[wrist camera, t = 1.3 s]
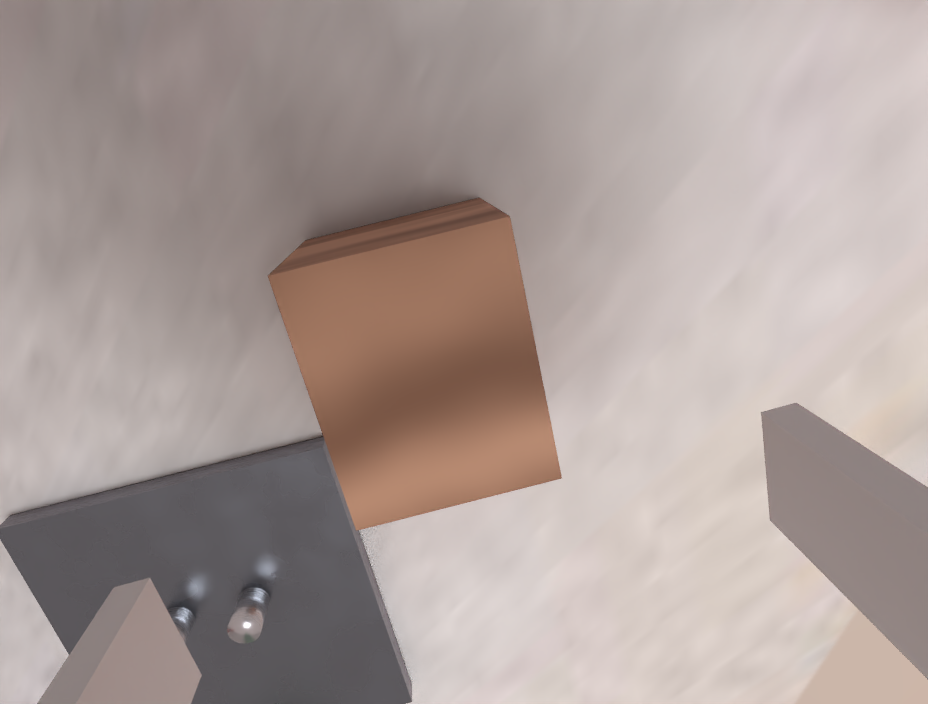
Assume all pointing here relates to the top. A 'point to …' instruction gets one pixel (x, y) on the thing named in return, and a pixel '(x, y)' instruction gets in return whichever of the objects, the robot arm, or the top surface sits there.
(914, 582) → the robot arm
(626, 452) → the top surface
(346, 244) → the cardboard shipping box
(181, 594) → the boss plate
